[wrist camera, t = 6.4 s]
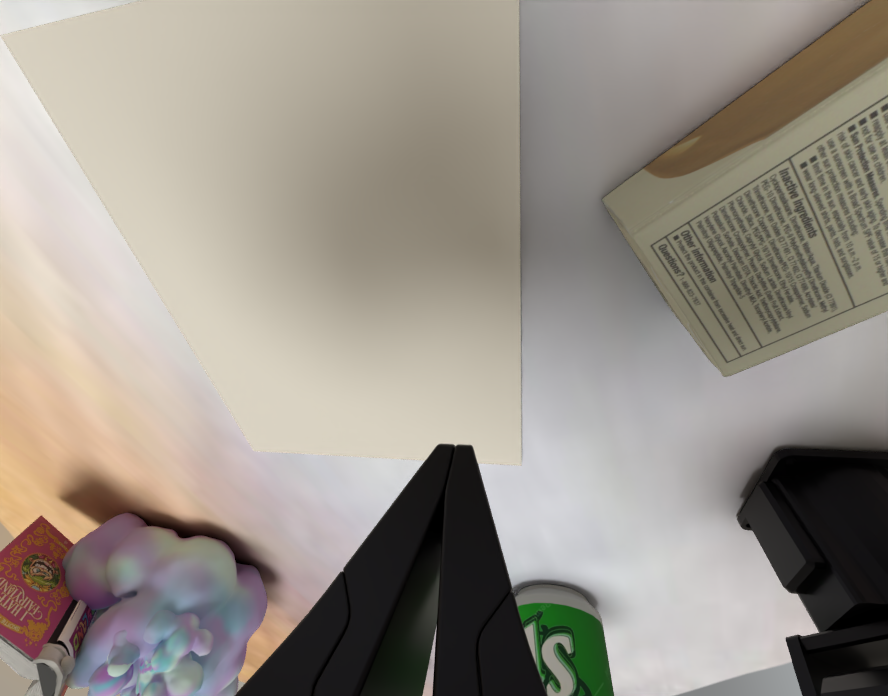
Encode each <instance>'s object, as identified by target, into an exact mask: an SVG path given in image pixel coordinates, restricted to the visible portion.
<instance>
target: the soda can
mask: <svg viewBox="0 0 888 696" xmlns="http://www.w3.org/2000/svg"><path fill="white" fill-rule="evenodd" d="M515 599H516V602H517V606H518V610H519V613H520V617H521V620H522V623H523V626H524V630H525V633H526V636H527V639H528V643H529V646H530V649H531V652H532V654H533V657H534V660H535V663H536V665H537V668H538V671H539V673H540V676H541V679H542V682H543V684H544V687H545V689H546V692H547V694H548V696H614V692H613V686H612V680H611V674H610V668H609V661H608V655H607V649H606V643H605V637H604V631H603V624H602V619H601V617H600V615H599V612H598V611H597V610H596V609H595V608H594V607H592V606H591V605H590V604H589V603H588V601H587V599H586V598H585V597H584V596H583V595H582V594H581V593H579V592H577V591H575V590H573V589H570V588H566V587H563V586H558V585H550V584H538V585H532V586H528V587H525V588H523V589H521V590H520V591H519V593H518V594H517V597H515Z"/></svg>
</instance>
